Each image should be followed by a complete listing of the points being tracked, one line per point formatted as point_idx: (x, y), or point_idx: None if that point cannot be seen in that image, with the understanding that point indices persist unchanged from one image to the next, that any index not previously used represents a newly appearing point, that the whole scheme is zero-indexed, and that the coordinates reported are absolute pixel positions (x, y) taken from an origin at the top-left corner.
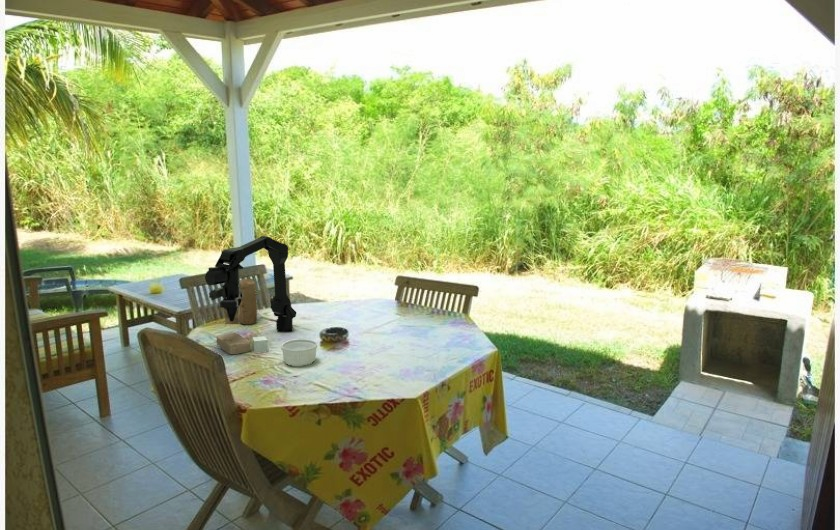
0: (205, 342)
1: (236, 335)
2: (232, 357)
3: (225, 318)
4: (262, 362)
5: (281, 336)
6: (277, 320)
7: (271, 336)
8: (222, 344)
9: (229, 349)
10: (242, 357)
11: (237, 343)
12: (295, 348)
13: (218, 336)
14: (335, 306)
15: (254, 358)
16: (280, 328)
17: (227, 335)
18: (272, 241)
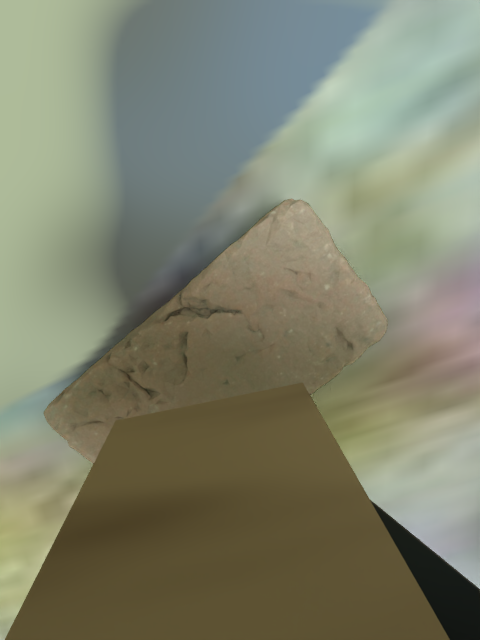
0: (327, 86)
1: (305, 368)
2: (44, 399)
3: (85, 495)
4: (10, 564)
5: (432, 530)
6: None
7: (437, 484)
8: (181, 290)
9: (71, 384)
10: (58, 452)
11: (85, 455)
12: None
13: (277, 224)
14: None
15: (58, 513)
16: None
17: (299, 299)
18: None
